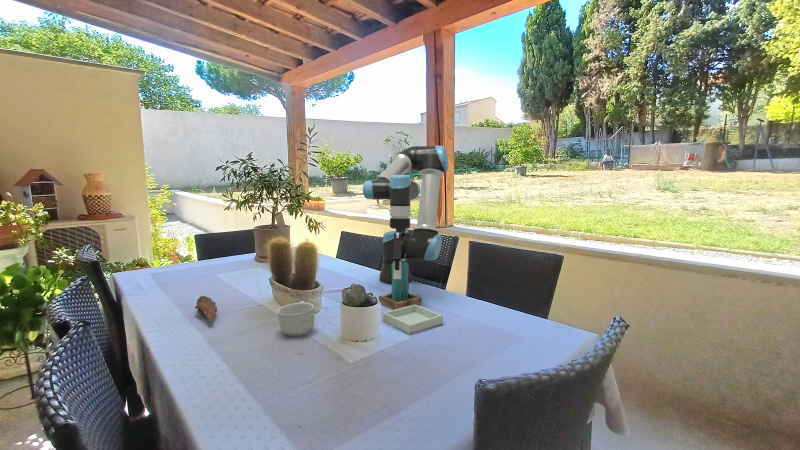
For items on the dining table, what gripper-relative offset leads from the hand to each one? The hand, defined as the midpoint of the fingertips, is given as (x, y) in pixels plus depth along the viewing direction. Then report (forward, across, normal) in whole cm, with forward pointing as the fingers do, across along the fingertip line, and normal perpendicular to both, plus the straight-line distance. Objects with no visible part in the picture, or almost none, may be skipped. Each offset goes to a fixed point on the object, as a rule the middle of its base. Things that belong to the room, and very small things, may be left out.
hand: (399, 274), depth 143 cm
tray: (+12, +17, +6) cm, 22 cm away
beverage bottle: (+12, 0, 0) cm, 12 cm away
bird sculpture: (+12, +20, -64) cm, 68 cm away
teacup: (+12, +28, -28) cm, 41 cm away
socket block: (+12, 0, 0) cm, 12 cm away
